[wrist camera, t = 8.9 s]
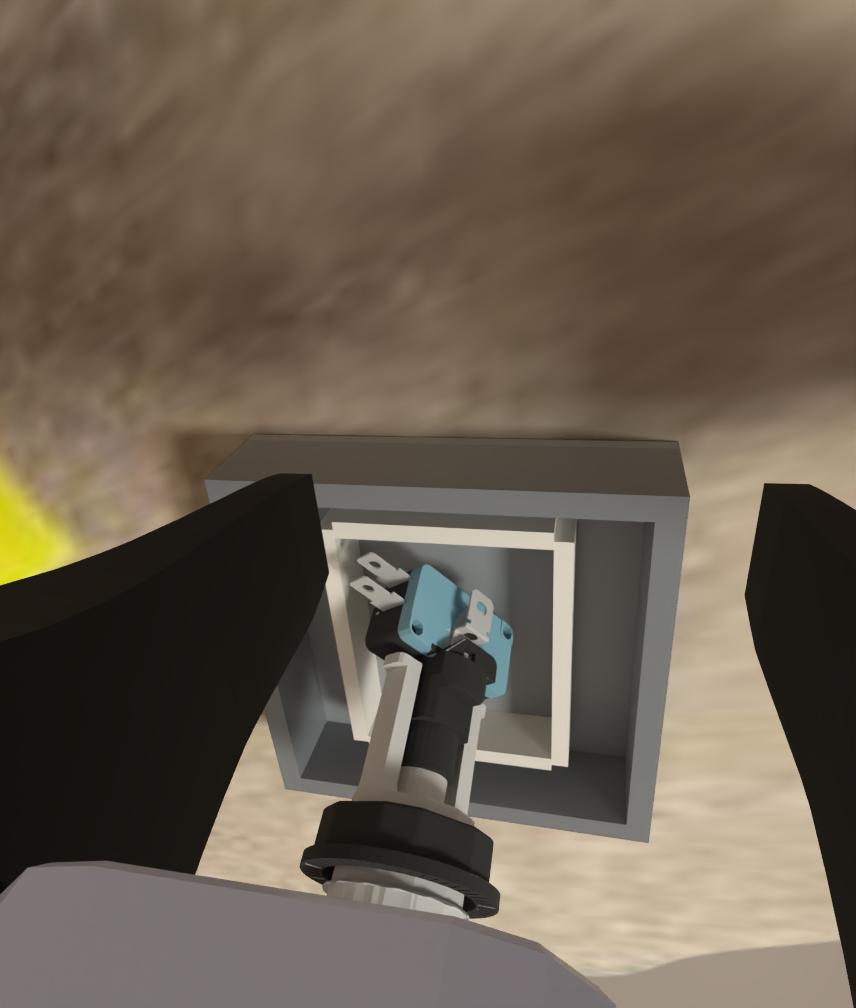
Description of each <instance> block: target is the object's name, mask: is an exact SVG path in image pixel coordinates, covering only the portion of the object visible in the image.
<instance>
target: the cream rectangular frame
mask: <svg viewBox="0 0 856 1008" xmlns="http://www.w3.org/2000/svg"><path fill="white" fill-rule="evenodd" d="M320 523H321V529H322V534H323V540H324V546H325V551H326V557H327V563H328V568H329V575H328V578H327V581H326V590H327V595H328V600H329V606H330V611H331V617H332V622H333V628H334V633H335V639H336V644H337V650H338V655H339V660H340V666H341V671H342V677H343V682H344V688H345V693H346V699H347V704H348V710H349V715H350V720H351V726H352V731H353V737H354V740H359V741H367V742H369V743H370V739H371V735H372V731H373V727H374V723H375V719H376V715H377V710H378V706H379V702H380V698H381V687H380V681H379V674H378V667H377V661H376V655H375V654H373V653H372V652H370V651H369V650H368V649H367V647H366V644H365V637H366V634H367V630H368V627H369V623H370V614H369V607H368V600H367V597H366V596H364V595H363V594H362V593H360V592H359V591H357V590H356V589H354V588H353V587H351V586H350V581H352V580H355V579H357V578H359V577H362V576H364V574H363V567H362V565H361V564H359V563H358V562H357V558H359V557H361V554H360V547H359V540H358V539H360V540H378V541H397V542H415V543H433V544H451V545H469V546H487V547H506V548H524V549H542V550H554V577H553V663H552V718H551V717H542V716H533V715H524V714H515V713H506V712H497V711H488V710H486V711H485V718H483V719H481V722H480V729H479V736H478V743H477V750H476V757H475V761H481V762H489V763H497V764H504V765H512V766H520V767H527V768H535V769H543V770H551V767H552V765H556V766H564V767H568V760H569V743H570V727H571V695H572V662H573V628H574V595H575V562H576V529H577V519H568V518H546V517H523V516H501V515H478V514H455V513H433V512H410V511H388V510H365V509H342V508H330V509H329V511H328V512H327V513H326V515H325V516H324V518H323V519H322V521H321V522H320ZM362 587H363V588H364V589H366V587H365V585H363V586H362Z"/></svg>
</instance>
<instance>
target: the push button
mask: <svg viewBox="0 0 856 1008" xmlns="http://www.w3.org/2000/svg"><path fill="white" fill-rule="evenodd" d="M371 561H375V562H378V563H379V564H380V565H381V566H380V567H374V566H372V565H370V564H369V562H371ZM357 562H358V563H359V564H361V565H362V566H364V567H365V568H366V569H368V570H369V571H371V572H372V573H373V574H375V575H376V576H378V577H377V580H378V581H380V582H381V583H383V584H384V585H385V586H386V588H385V589H384V588H383V587H381V586H380V585H378V584H377V583H375V582H374V581H373V580H371V579H370V578H368V577H367V576H362V577H359V578H357V579H355V580H352V581H350V586H351V587H353V588H354V589H356V590H357V591H359V592H360V593H362V594H363V595H364V596H366V597H367V598H369V599H370V600H371V601H370V603H371V604H373V605H374V606H376V607H375V608H374V609H373V612H372V616H371V619H370V623H369V627H368V630H367V634H366V637H365V644H366V647H367V649H368V650H369V651H370V652H372V653H373V654H375V655H376V656H378V657H380V658H381V659H383V660H384V665H383V668H384V669H385V670H386V671H387V674H386V678H385V682H384V686H383V690H382V694H381V698H380V702H379V706H378V710H377V715H376V719H375V723H374V727H373V731H372V735H371V739H370V743H369V747H368V751H367V755H366V760H365V764H364V768H363V772H362V776H361V780H360V783H359V786H358V788H357V790H356V792H355V793H354V795H353V797H352V801H338V802H336V803H334V804H332V805H330V806H328V807H326V808H325V809H324V811H323V815H322V818H321V822H320V826H319V829H318V833H317V837H316V840H315V844H314V845H313V846H310V847H308V848H306V849H305V850H304V852H303V856H302V859H301V863H300V869H301V871H302V872H303V873H304V874H305V875H306V876H308V877H309V878H311V879H312V880H314V881H316V882H318V883H320V884H322V886H323V890H324V892H326V893H327V896H330V897H336V898H343V899H349V900H355V901H361V902H368V903H374V904H380V905H386V906H393V907H399V908H405V909H411V910H418V911H424V912H430V913H437V914H443V915H449V916H455V917H458V918H462V919H465V920H468V921H469V919H474V918H486V917H491V916H494V915H496V914H497V913H498V911H499V902H500V893H499V891H498V890H497V889H496V888H495V887H494V886H493V885H491V884H490V883H489V878H490V870H491V861H492V852H493V840H492V839H491V838H490V837H488V836H487V835H486V834H484V833H483V832H481V831H480V830H479V829H477V828H476V827H474V821H473V820H472V819H471V818H469V817H468V816H467V813H468V806H469V799H470V792H471V785H472V778H473V771H474V764H475V757H476V750H477V743H478V736H479V729H480V722H481V719H483V718H485V711H486V706H485V705H484V704H483V701H484V699H489V698H493V697H498V696H502V695H504V694H505V691H506V686H507V678H508V670H509V662H510V653H511V646H512V643H513V631H512V629H511V627H510V626H509V625H508V624H507V623H506V622H504V621H503V620H501V619H500V618H498V617H497V616H496V615H494V614H493V608H494V607H493V604H492V601H491V600H490V599H489V598H487V597H486V596H485V595H484V594H482V593H481V592H480V591H478V590H477V589H476V590H473V591H471V594H470V596H469V595H468V594H467V593H466V592H464V591H463V590H462V589H460V588H459V587H458V586H456V585H455V584H454V583H452V582H451V581H450V580H449V579H447V578H446V577H445V576H443V575H442V574H441V573H439V572H438V571H437V570H435V569H434V568H433V567H432V566H430V565H427V564H426V565H423V566H421V567H419V568H416V569H413V570H411V571H408V572H405V571H403V570H402V569H400V568H398V569H395V568H394V567H393V566H391V565H390V564H389V563H387V562H386V561H385V560H383V559H382V558H381V557H379V556H378V555H376V554H375V553H373V552H369V553H367V554H365V555H363V556H361V557H359V558H357ZM363 585H369V586H371V587H373V588H374V590H372V591H369V590H366V589H364V588H363V587H362V586H363ZM479 602H481V603H482V604H483V605H481V604H480V603H479Z"/></svg>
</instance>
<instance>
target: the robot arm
mask: <svg viewBox="0 0 856 1008" xmlns="http://www.w3.org/2000/svg"><path fill="white" fill-rule="evenodd" d="M328 575H329V568H328V563H327V557H326V551H325V546H324V540H323V534H322V529H321V523H320V517H319V512H318V506H317V500H316V495H315V489H314V483H313V478H312V474H291V473H278V474H275V475H272V476H269V477H266V478H264V479H261V480H259V481H257V482H254V483H252V484H250V485H248V486H246V487H243V488H241V489H239V490H237V491H235V492H233V493H231V494H229V495H227V496H225V497H223V498H221V499H219V500H217V501H215V502H213V503H211V504H209V505H207V506H205V507H203V508H201V509H199V510H197V511H195V512H192V513H190V514H188V515H186V516H184V517H182V518H180V519H178V520H176V521H174V522H171V523H169V524H167V525H165V526H163V527H160V528H158V529H156V530H154V531H152V532H149V533H147V534H145V535H143V536H141V537H138V538H136V539H134V540H132V541H129V542H127V543H125V544H122V545H120V546H117V547H115V548H112V549H110V550H107V551H105V552H102V553H100V554H97V555H94V556H92V557H89V558H86V559H83V560H80V561H78V562H75V563H72V564H69V565H67V566H64V567H61V568H58V569H55V570H52V571H48V572H45V573H41V574H38V575H35V576H31V577H28V578H24V579H21V580H17V581H14V582H11V583H7V584H4V585H0V1008H616V1005H615V1004H614V1003H613V1002H612V1000H610V998H608V996H607V995H606V994H605V993H604V992H603V991H602V990H601V989H600V988H599V987H598V986H597V985H596V984H594V983H592V982H591V981H590V980H589V979H587V978H586V977H585V976H583V975H582V974H580V973H579V972H578V971H576V970H575V969H574V968H572V967H571V966H569V965H568V964H567V963H565V962H564V961H563V960H561V959H560V958H558V957H557V956H556V955H554V954H553V953H552V952H550V951H549V950H547V949H546V948H545V947H543V946H542V945H541V944H539V943H538V942H535V941H531V940H528V939H525V938H522V937H519V936H516V935H512V934H509V933H506V932H503V931H500V930H496V929H493V928H490V927H487V926H484V925H481V924H477V923H474V922H471V921H468V920H465V919H462V918H458V917H455V916H449V915H443V914H437V913H430V912H424V911H418V910H411V909H405V908H399V907H393V906H386V905H380V904H374V903H368V902H361V901H355V900H349V899H343V898H336V897H330V896H324V895H318V894H311V893H305V892H299V891H293V890H286V889H280V888H274V887H267V886H261V885H255V884H249V883H242V882H236V881H230V880H224V879H217V878H211V877H205V876H199V875H195V874H196V871H197V868H198V865H199V862H200V859H201V856H202V854H203V851H204V849H205V846H206V843H207V841H208V838H209V835H210V833H211V830H212V827H213V825H214V822H215V819H216V817H217V814H218V812H219V809H220V806H221V804H222V801H223V798H224V796H225V793H226V791H227V789H228V786H229V784H230V781H231V779H232V777H233V774H234V772H235V769H236V767H237V764H238V762H239V760H240V757H241V755H242V752H243V750H244V747H245V745H246V743H247V741H248V739H249V737H250V735H251V733H252V731H253V729H254V727H255V725H256V723H257V721H258V719H259V717H260V715H261V714H262V712H263V710H264V708H265V706H266V704H267V703H268V701H269V699H270V697H271V695H272V694H273V692H274V690H275V688H276V686H277V685H278V683H279V681H280V679H281V677H282V675H283V674H284V672H285V670H286V668H287V666H288V665H289V663H290V661H291V659H292V657H293V656H294V654H295V652H296V650H297V648H298V646H299V644H300V643H301V641H302V639H303V637H304V635H305V633H306V631H307V629H308V628H309V626H310V624H311V622H312V620H313V617H314V615H315V612H316V609H317V607H318V604H319V602H320V599H321V596H322V593H323V590H324V587H325V584H326V581H327V578H328ZM745 600H746V605H747V611H748V616H749V622H750V627H751V632H752V637H753V641H754V646H755V651H756V654H757V657H758V660H759V662H760V665H761V668H762V671H763V674H764V677H765V680H766V682H767V685H768V688H769V691H770V694H771V696H772V699H773V702H774V705H775V708H776V710H777V713H778V716H779V719H780V721H781V724H782V727H783V730H784V732H785V735H786V738H787V741H788V743H789V746H790V749H791V752H792V754H793V757H794V760H795V763H796V765H797V768H798V771H799V774H800V777H801V779H802V783H803V786H804V789H805V792H806V796H807V799H808V802H809V805H810V809H811V813H812V817H813V821H814V825H815V829H816V834H817V838H818V842H819V846H820V850H821V855H822V859H823V863H824V867H825V871H826V876H827V880H828V885H829V889H830V894H831V899H832V903H833V908H834V913H835V917H836V922H837V926H838V931H839V936H840V940H841V945H842V950H843V954H844V959H845V964H846V969H847V975H848V980H849V985H850V990H851V996H852V1000H853V1006H854V1008H856V510H855V509H853V508H851V507H850V506H848V505H846V504H845V503H843V502H842V501H840V500H838V499H836V498H835V497H833V496H831V495H830V494H828V493H826V492H824V491H822V490H820V489H818V488H816V487H814V486H812V485H810V484H772V483H764V488H763V494H762V500H761V505H760V511H759V517H758V522H757V528H756V534H755V539H754V545H753V551H752V556H751V562H750V568H749V573H748V579H747V585H746V590H745Z"/></svg>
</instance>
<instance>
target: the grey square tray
mask: <svg viewBox="0 0 856 1008" xmlns="http://www.w3.org/2000/svg"><path fill="white" fill-rule="evenodd" d="M278 473H291V474H312V478H313V483H314V489H315V495H316V500H317V506H318V512H319V517H320V522H321V521H322V519H323V518H324V516H325V515H326V513H327V512H328V511H329V509H330V508H342V509H365V510H388V511H410V512H433V513H455V514H478V515H501V516H523V517H546V518H568V519H577V529H576V562H575V595H574V628H573V662H572V695H571V727H570V743H569V760H568V767H564V766H556V765H552V767H551V770H543V769H535V768H527V767H520V766H512V765H504V764H497V763H489V762H481V761H475V764H474V771H473V778H472V785H471V792H470V799H469V806H468V813H467V816H470V817H477V818H483V819H490V820H497V821H504V822H510V823H517V824H524V825H531V826H537V827H544V828H551V829H557V830H564V831H571V832H578V833H584V834H591V835H598V836H605V837H611V838H618V839H625V840H631V841H638V842H645V843H649V835H650V827H651V818H652V810H653V802H654V793H655V785H656V777H657V768H658V760H659V752H660V743H661V735H662V727H663V718H664V710H665V702H666V693H667V685H668V677H669V668H670V660H671V651H672V643H673V635H674V626H675V618H676V610H677V601H678V593H679V585H680V576H681V568H682V560H683V551H684V543H685V535H686V526H687V518H688V510H689V501H690V495H689V490H688V485H687V481H686V476H685V472H684V467H683V462H682V458H681V453H680V448H679V444H678V442H658V441H602V440H547V439H491V438H435V437H380V436H324V435H268V434H254V435H252V436H251V437H250V438H249V439H248V440H247V441H246V442H245V443H244V444H243V445H241V446H240V447H239V448H238V449H237V450H236V451H235V452H234V453H233V454H231V455H230V456H229V457H228V458H227V459H226V460H225V461H224V462H223V463H222V464H220V465H219V466H218V467H217V468H216V469H215V470H214V471H213V472H212V473H210V474H209V475H208V476H207V477H206V478H205V479H204V483H205V487H206V491H207V494H208V498H209V502H210V504H211V503H213V502H215V501H217V500H219V499H221V498H223V497H225V496H227V495H229V494H231V493H233V492H235V491H237V490H239V489H241V488H243V487H246V486H248V485H250V484H252V483H254V482H257V481H259V480H261V479H264V478H266V477H269V476H272V475H275V474H278ZM358 540H359V547H360V554H361V556H363V555H365V554H367V553H369V552H373V553H375V554H376V555H378V556H379V557H381V558H382V559H383V560H385V561H386V562H387V563H389V564H390V565H391V566H393V567H394V568H395V569H398V568H400V569H402V570H403V571H405V572H408V571H411V570H413V569H416V568H419V567H421V566H423V565H426V564H427V565H430V566H432V567H433V568H434V569H435V570H437V571H438V572H439V573H441V574H442V575H443V576H445V577H446V578H447V579H449V580H450V581H451V582H452V583H454V584H455V585H456V586H458V587H459V588H460V589H462V590H463V591H464V592H466V593H467V594H468V595H469V596H470V594H471V591H473V590H476V589H477V590H478V591H480V592H481V593H482V594H484V595H485V596H486V597H487V598H489V599H490V600H491V601H492V604H493V607H494V608H493V614H494V615H496V616H497V617H498V618H500V619H501V620H503V621H504V622H506V623H507V624H508V625H509V626H510V627H511V629H512V631H513V643H512V646H511V653H510V662H509V670H508V678H507V686H506V691H505V694H504V695H502V696H498V697H493V698H489V699H484V701H483V704H484V705H485V706H486V710H488V711H497V712H506V713H515V714H524V715H533V716H542V717H551V718H552V663H553V577H554V550H542V549H524V548H506V547H487V546H469V545H451V544H433V543H415V542H397V541H378V540H360V539H358ZM369 564H370V565H372V566H374V567H380V566H381V565H380V564H379V563H378V562H375V561H371V562H369ZM362 567H363V574H364V576H367V577H368V578H370V579H371V580H373V581H374V582H375V583H377V584H378V585H380V586H381V587H383V588H384V589H385V588H386V586H385V585H384V584H383V583H381V582H380V581H378V580H377V577H378V576H376V575H375V574H373V573H372V572H371V571H369V570H368V569H366V568H365V567H364V566H362ZM365 587H366V590H369V591H372V590H374V588H373V587H371V586H369V585H365ZM367 600H368V607H369V614H370V619H371V616H372V612H373V609H374V608H375V607H376V606H374V605H373V604H371V603H370V601H371V600H370V599H369V598H367ZM479 603H480V604H481V605H483V604H482V603H481V602H479ZM376 661H377V667H378V674H379V681H380V687H381V694H382V690H383V686H384V682H385V678H386V674H387V671H386V670H385V669H384V668H383V665H384V660H383V659H381V658H380V657H378V656H376ZM264 710H265V714H266V718H267V722H268V725H269V729H270V733H271V737H272V740H273V744H274V748H275V752H276V756H277V759H278V763H279V767H280V771H281V775H282V778H283V782H284V786H285V789H288V790H295V791H302V792H309V793H315V794H322V795H329V796H335V797H342V798H349V799H352V797H353V795H354V793H355V792H356V790H357V788H358V786H359V783H360V780H361V776H362V772H363V768H364V764H365V760H366V755H367V751H368V747H369V742H367V741H359V740H354V737H353V731H352V726H351V720H350V715H349V710H348V704H347V699H346V693H345V688H344V682H343V677H342V671H341V666H340V660H339V655H338V650H337V644H336V639H335V633H334V628H333V622H332V617H331V611H330V606H329V600H328V595H327V590H326V584H325V587H324V590H323V593H322V596H321V599H320V602H319V604H318V607H317V609H316V612H315V615H314V617H313V620H312V622H311V624H310V626H309V628H308V629H307V631H306V633H305V635H304V637H303V639H302V641H301V643H300V644H299V646H298V648H297V650H296V652H295V654H294V656H293V657H292V659H291V661H290V663H289V665H288V666H287V668H286V670H285V672H284V674H283V675H282V677H281V679H280V681H279V683H278V685H277V686H276V688H275V690H274V692H273V694H272V695H271V697H270V699H269V701H268V703H267V704H266V706H265V708H264Z"/></svg>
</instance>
